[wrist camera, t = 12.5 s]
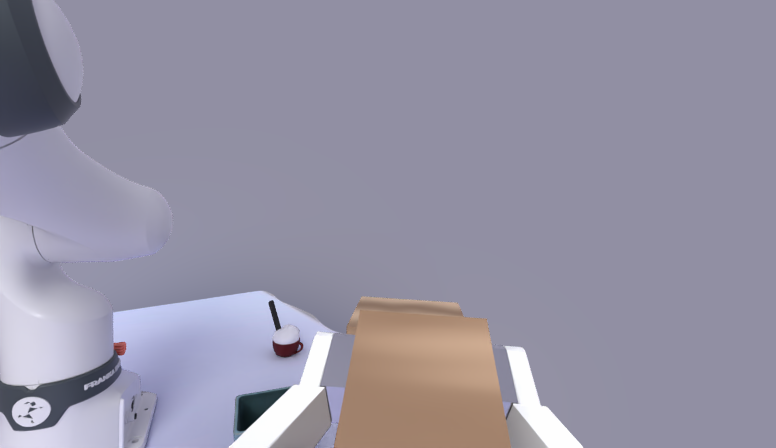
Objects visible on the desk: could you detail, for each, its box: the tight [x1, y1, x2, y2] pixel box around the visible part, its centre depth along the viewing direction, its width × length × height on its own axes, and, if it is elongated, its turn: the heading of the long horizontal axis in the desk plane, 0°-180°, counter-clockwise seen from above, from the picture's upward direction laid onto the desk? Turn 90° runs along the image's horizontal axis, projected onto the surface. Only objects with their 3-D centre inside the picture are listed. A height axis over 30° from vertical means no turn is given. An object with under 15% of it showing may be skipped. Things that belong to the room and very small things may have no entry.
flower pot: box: [233, 386, 292, 442], centre depth 48 cm, size 9×9×9 cm
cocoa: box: [269, 300, 303, 357], centre depth 82 cm, size 10×6×12 cm, turn 47°
